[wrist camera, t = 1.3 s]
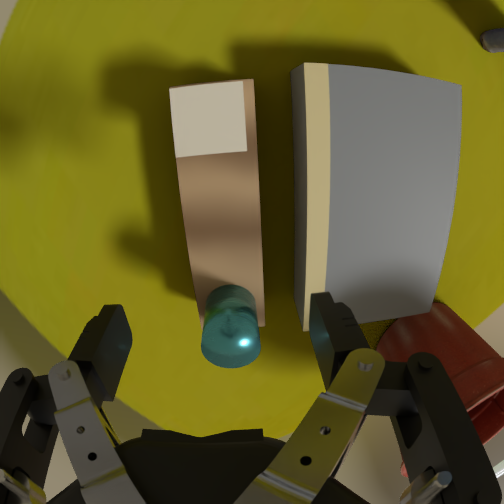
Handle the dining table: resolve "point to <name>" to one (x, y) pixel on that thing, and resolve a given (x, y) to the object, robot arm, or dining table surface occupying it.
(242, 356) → the teal canister
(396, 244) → the dock
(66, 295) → the dining table surface
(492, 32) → the flask
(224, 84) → the white cube
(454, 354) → the flower pot
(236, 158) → the pallet
